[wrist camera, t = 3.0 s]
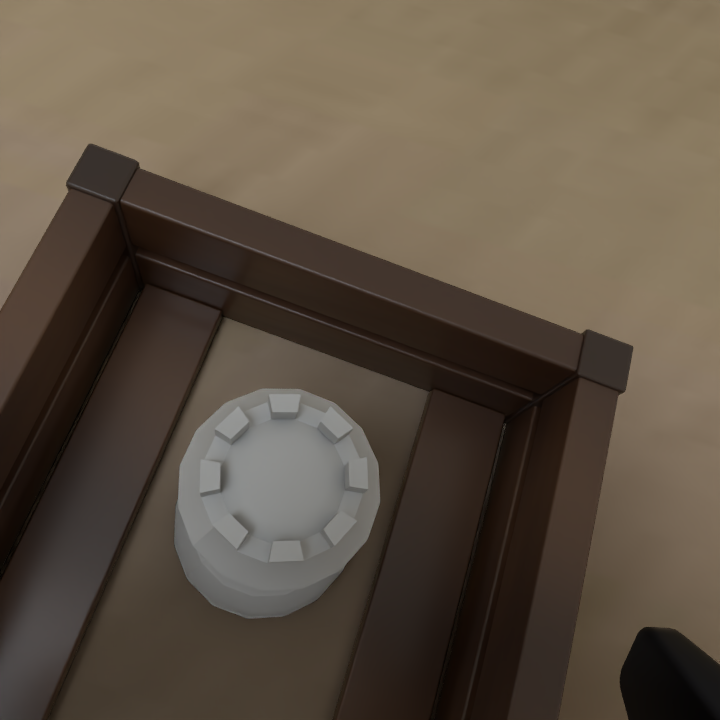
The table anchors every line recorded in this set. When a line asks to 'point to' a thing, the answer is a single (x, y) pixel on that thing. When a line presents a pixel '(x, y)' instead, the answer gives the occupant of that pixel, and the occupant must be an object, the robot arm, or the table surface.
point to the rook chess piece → (273, 501)
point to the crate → (331, 336)
